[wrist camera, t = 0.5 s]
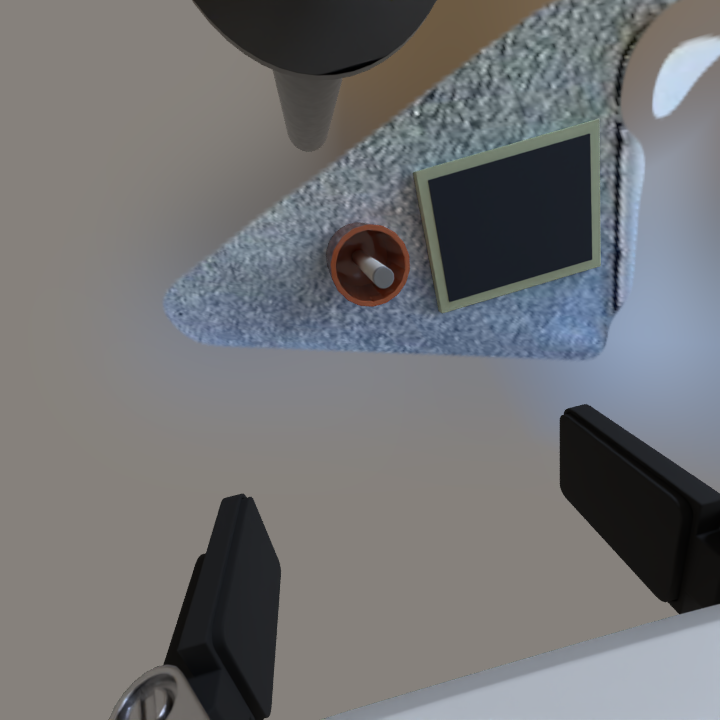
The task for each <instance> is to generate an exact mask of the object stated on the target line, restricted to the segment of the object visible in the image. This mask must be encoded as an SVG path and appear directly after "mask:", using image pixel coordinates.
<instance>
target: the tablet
mask: <svg viewBox="0 0 720 720" xmlns="http://www.w3.org/2000/svg"><path fill="white" fill-rule="evenodd" d="M413 176H414V181H415V187H416V192H417V197H418V203H419V208H420V214H421V219H422V224H423V230H424V235H425V240H426V246H427V251H428V256H429V262H430V267H431V272H432V278H433V283H434V288H435V294H436V299H437V304H438V310H439V312H440V313H445V312H449V311H452V310H455V309H459V308H462V307H465V306H469V305H472V304H475V303H479V302H482V301H485V300H489V299H492V298H495V297H499V296H502V295H505V294H509V293H512V292H515V291H519V290H522V289H525V288H529V287H532V286H535V285H539V284H542V283H546V282H549V281H552V280H556V279H559V278H562V277H566V276H569V275H572V274H576V273H579V272H582V271H586V270H589V269H592V268H596V267H599V266H601V259H600V137H599V119H596V120H593V121H589V122H586V123H582V124H579V125H575V126H572V127H568V128H565V129H561V130H558V131H554V132H551V133H548V134H544V135H541V136H537V137H534V138H530V139H527V140H523V141H520V142H516V143H513V144H509V145H506V146H503V147H499V148H496V149H492V150H489V151H485V152H482V153H478V154H475V155H471V156H468V157H464V158H461V159H458V160H454V161H451V162H447V163H444V164H440V165H437V166H433V167H430V168H426V169H423V170H419V171H416V172H414V173H413Z"/></svg>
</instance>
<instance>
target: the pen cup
mask: <svg viewBox="0 0 720 720" xmlns="http://www.w3.org/2000/svg"><path fill="white" fill-rule="evenodd" d="M356 250H362V251H363V252H365V253H366V254H368V255H369V256H371V257H372V258H374V259H375V260H377V261H378V262H380V263H381V264H383V265H384V266H386V267H388V268H389V269H390V270H391V271H392V272H393V274H394V281H393V283H392V284H391V285H390V286H389V287H387V288H379V287H377V286H376V285H375V284H374V283H373V282H372V281H371V280H370V278H369V277H368V276H367V275H366V274H365V273H364V272H363V271H362V270H361V269H360V268H359V267H358V266H357V265H356V264H355V263H354V262H353V260H352V254H353V253H354V252H355V251H356ZM326 261H327V267H328V269H329V272H330V274H331V277H332V279H333V281H334V284H335V286H336V288H337V290H338V291H339V292H340V293H341V294H342V295H343V296H344V297H345V298H346V299H347V300H348V301H350V302H353V303H355V304H357V305H360V306H377V305H381V304H384V303H386V302H388V301H390V300H391V299H392V298H394V297H395V296H397V294H399V292H400V291H401V289H402V288H403V286H404V285H405V283H406V281H407V277H408V274H409V271H410V263H409V254H408V251H407V249H406V246H405V244H404V242H403V241H402V240H401V239H400V238H399V236H398V235H397V234H396V233H395V232H393V231H391V230H389V229H387V228H386V227H384V226H381V225H374V224H368V223H358V222H356V223H351V224H348V225H345V226H343V227H342V228H340V229H339V230H338V231H337V232H335V234H334V235H333V236H332V238H331V239H330V241H329V243H328V247H327V251H326Z"/></svg>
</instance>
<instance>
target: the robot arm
mask: <svg viewBox="0 0 720 720" xmlns="http://www.w3.org/2000/svg"><path fill="white" fill-rule="evenodd" d="M560 488H561V490H562V493H563V495H564V496H565V497H566V498H567V500H568V501H569V502H570V503H571V504H572V505H573V506H574V507H575V508H576V509H577V511H578V512H579V513H580V514H581V515H582V516H583V517H584V518H585V519H586V520H587V521H588V522H589V524H590V525H591V526H592V527H593V528H594V529H595V530H596V531H597V532H598V533H599V535H600V536H601V537H602V538H603V539H604V540H605V541H606V542H607V543H608V544H609V545H610V546H611V547H612V549H613V550H614V551H615V552H616V553H617V554H618V555H619V556H620V558H621V559H622V560H623V561H624V562H625V563H626V564H627V565H628V566H629V567H630V568H631V570H632V571H633V572H634V573H635V574H636V575H637V576H638V577H639V578H640V579H641V580H642V582H643V583H644V584H645V585H646V586H647V587H648V588H649V589H650V590H651V591H652V592H653V594H654V595H655V596H656V597H657V598H658V599H660V600H661V601H663V602H668V603H669V604H670V605H671V606H672V607H673V608H674V609H675V610H676V611H677V612H678V613H679V615H676V616H672V617H668V618H665V619H661V620H658V621H654V622H651V623H647V624H644V625H640V626H637V627H633V628H630V629H626V630H623V631H619V632H616V633H612V634H609V635H605V636H602V637H598V638H595V639H591V640H588V641H584V642H581V643H577V644H574V645H570V646H567V647H563V648H560V649H556V650H553V651H549V652H546V653H542V654H539V655H536V656H532V657H529V658H525V659H522V660H519V661H515V662H512V663H508V664H505V665H501V666H498V667H495V668H491V669H488V670H484V671H481V672H478V673H474V674H470V675H467V676H464V677H460V678H457V679H453V680H450V681H447V682H443V683H440V684H437V685H433V686H430V687H427V688H423V689H420V690H417V691H413V692H410V693H406V694H403V695H400V696H396V697H393V698H390V699H386V700H383V701H380V702H376V703H373V704H370V705H366V706H363V707H359V708H356V709H353V710H349V711H347V712H343V713H340V714H337V715H334V716H331V717H328V718H324V719H321V720H720V493H718V492H717V491H715V490H714V489H712V488H711V487H709V486H708V485H706V484H705V483H703V482H702V481H701V480H699V479H698V478H696V477H695V476H693V475H691V474H690V473H688V472H687V471H686V470H684V469H683V468H681V467H680V466H678V465H677V464H675V463H674V462H672V461H671V460H669V459H668V458H666V457H665V456H663V455H662V454H661V453H659V452H657V451H656V450H655V449H653V448H652V447H650V446H649V445H647V444H646V443H644V442H643V441H641V440H640V439H638V438H637V437H635V436H634V435H632V434H631V433H629V432H628V431H626V430H624V429H623V428H622V427H621V426H619V425H618V424H616V423H614V422H613V421H612V420H610V419H609V418H607V417H606V416H604V415H603V414H601V413H600V412H598V411H597V410H595V409H594V408H592V407H591V406H589V405H587V404H584V405H580V406H576V407H572V408H568V409H566V410H565V412H564V415H562V416H561V417H560ZM280 579H281V568H280V563H279V560H278V557H277V555H276V553H275V550H274V548H273V546H272V543H271V541H270V538H269V536H268V533H267V531H266V529H265V526H264V524H263V521H262V519H261V517H260V514H259V512H258V509H257V507H256V505H255V502H254V500H253V498H252V497H248V498H247V497H246V496H245V495H244V494H239V495H235V496H231V497H227V498H224V499H223V500H222V502H221V505H220V508H219V511H218V515H217V518H216V521H215V525H214V528H213V532H212V535H211V538H210V542H209V545H208V548H207V552H206V554H202V555H201V556H200V557H199V558H198V559H197V562H196V564H195V567H194V570H193V574H192V577H191V580H190V583H189V586H188V589H187V593H186V596H185V599H184V602H183V605H182V608H181V612H180V614H179V618H178V621H177V624H176V627H175V630H174V634H173V637H172V640H171V643H170V646H169V649H168V653H167V655H166V658H165V662H164V665H162V666H157V667H155V668H153V669H151V670H149V671H147V672H146V673H144V674H143V675H142V676H141V677H139V678H138V679H137V680H135V681H134V682H133V683H132V684H131V686H130V687H129V688H128V689H127V690H126V691H125V692H124V693H123V695H122V696H121V698H120V699H119V701H118V702H117V704H116V705H115V707H114V709H113V711H112V713H111V716H110V718H109V720H263V719H264V718H267V717H269V716H270V712H271V705H272V691H273V677H274V663H275V649H276V635H277V620H278V607H279V594H280Z"/></svg>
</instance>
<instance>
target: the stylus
mask: <svg viewBox="0 0 720 720" xmlns="http://www.w3.org/2000/svg"><path fill="white" fill-rule="evenodd" d="M352 260H353V262H354V263H355V264H356V265H357V266H358V267H359V268H360V269H361V270H362V271H363V272H364V273H365V274H366V275H367V276H368V277H369V278H370V280H371V281H372V282H373V283H374V284H375V285H376V286H377V287H379V288H387V287H389V286H390V285H391V284H392V283H393V281H394V274H393V272H392V271H391V270H390V269H389V268H388V267H386V266H384V265H383V264H381V263H380V262H378V261H377V260H375V259H374V258H372V257H371V256H369V255H368V254H366V253H365V252H363V251H362V250H356V251H355V252H354V253H353V254H352Z"/></svg>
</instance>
